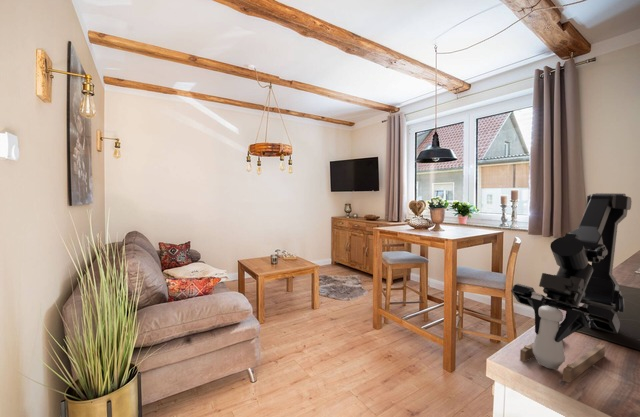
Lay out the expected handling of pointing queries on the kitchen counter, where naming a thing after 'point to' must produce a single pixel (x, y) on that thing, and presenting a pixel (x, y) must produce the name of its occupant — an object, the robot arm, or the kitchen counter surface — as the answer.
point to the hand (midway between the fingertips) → (546, 337)
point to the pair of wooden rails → (573, 368)
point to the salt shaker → (549, 338)
